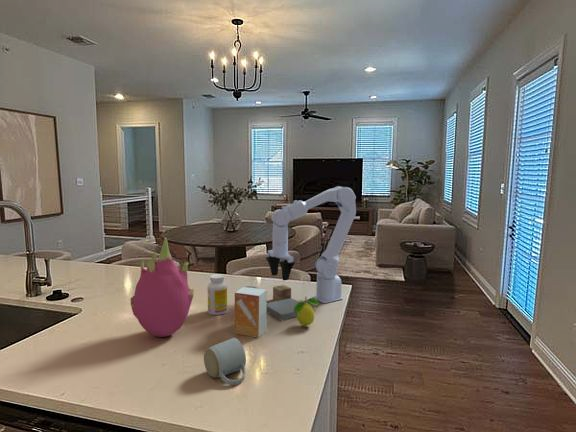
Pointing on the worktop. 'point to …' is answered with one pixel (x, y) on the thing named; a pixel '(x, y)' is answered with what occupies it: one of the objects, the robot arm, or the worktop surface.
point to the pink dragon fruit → (162, 295)
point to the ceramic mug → (225, 360)
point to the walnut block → (281, 293)
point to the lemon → (305, 312)
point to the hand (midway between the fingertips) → (280, 277)
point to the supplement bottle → (217, 295)
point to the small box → (250, 311)
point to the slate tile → (283, 308)
